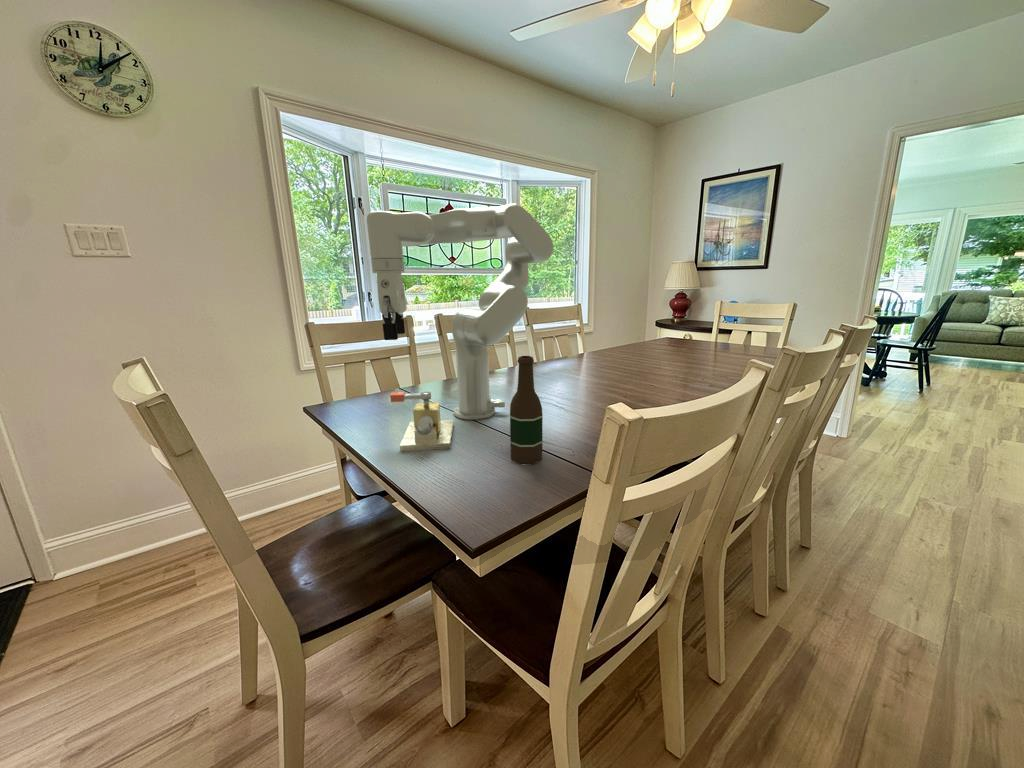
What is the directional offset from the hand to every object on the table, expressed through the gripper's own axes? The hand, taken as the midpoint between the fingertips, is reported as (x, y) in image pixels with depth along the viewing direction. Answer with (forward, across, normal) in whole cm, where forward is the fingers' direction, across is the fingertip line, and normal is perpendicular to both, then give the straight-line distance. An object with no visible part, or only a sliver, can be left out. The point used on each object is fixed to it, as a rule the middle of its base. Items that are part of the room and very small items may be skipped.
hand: (395, 336), depth 101 cm
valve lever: (+16, -5, -4) cm, 17 cm away
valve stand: (+26, -5, -7) cm, 28 cm away
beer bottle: (+26, -19, -31) cm, 45 cm away
